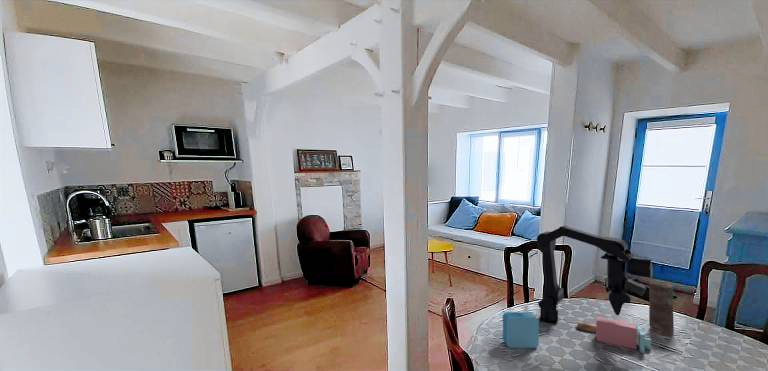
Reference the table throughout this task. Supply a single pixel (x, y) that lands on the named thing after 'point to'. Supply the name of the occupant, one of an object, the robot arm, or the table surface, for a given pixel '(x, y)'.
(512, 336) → the data package
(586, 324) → the rail
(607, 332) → the boxed book
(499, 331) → the table surface
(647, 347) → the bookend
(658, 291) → the brown tall block
